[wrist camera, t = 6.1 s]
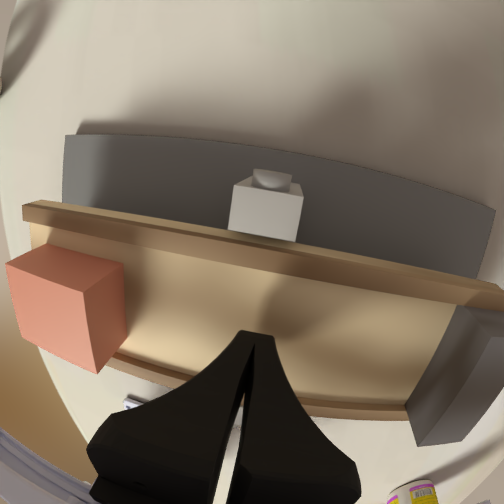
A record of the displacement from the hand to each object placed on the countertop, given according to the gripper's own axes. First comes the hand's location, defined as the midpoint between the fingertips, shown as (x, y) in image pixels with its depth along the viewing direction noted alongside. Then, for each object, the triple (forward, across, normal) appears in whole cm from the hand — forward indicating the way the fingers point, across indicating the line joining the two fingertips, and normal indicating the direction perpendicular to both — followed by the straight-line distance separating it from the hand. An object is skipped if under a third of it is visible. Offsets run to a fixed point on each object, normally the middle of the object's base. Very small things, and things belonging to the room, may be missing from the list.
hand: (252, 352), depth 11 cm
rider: (+1, +9, 0) cm, 9 cm away
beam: (+2, 0, 0) cm, 2 cm away
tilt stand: (+7, 0, 0) cm, 7 cm away
